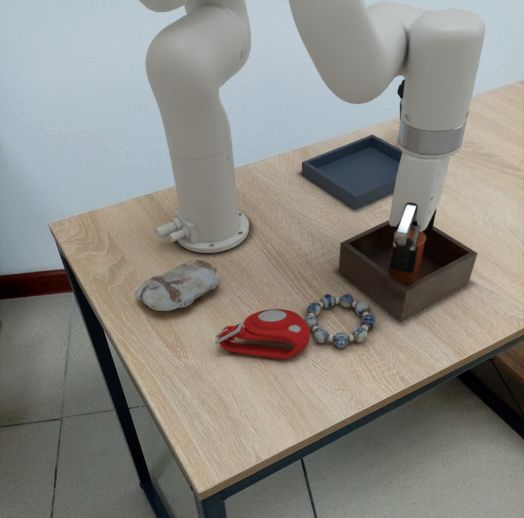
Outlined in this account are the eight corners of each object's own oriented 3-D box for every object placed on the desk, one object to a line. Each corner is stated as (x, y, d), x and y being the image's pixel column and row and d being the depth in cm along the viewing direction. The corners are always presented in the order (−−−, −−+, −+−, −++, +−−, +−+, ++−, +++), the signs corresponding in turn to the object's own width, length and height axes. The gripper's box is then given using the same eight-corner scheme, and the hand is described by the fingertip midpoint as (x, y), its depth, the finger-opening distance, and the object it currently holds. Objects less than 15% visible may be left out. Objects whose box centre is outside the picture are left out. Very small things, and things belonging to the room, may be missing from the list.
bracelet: (317, 357, 70) (318, 346, 69) (293, 309, 76) (293, 299, 75) (385, 339, 72) (387, 328, 70) (356, 293, 78) (357, 283, 76)
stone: (166, 329, 75) (161, 312, 73) (130, 299, 80) (124, 282, 77) (229, 288, 80) (227, 271, 78) (192, 262, 85) (189, 245, 82)
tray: (354, 209, 93) (355, 197, 91) (301, 174, 102) (301, 161, 100) (427, 177, 99) (429, 164, 97) (371, 146, 108) (372, 134, 106)
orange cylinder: (402, 288, 78) (409, 249, 72) (381, 273, 80) (387, 234, 75) (423, 276, 79) (432, 237, 74) (403, 261, 82) (410, 223, 76)
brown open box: (400, 321, 74) (406, 291, 70) (338, 271, 82) (340, 242, 78) (468, 283, 78) (477, 253, 74) (403, 239, 86) (408, 210, 82)
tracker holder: (270, 296, 77) (324, 314, 70) (272, 324, 79) (324, 344, 72) (206, 325, 69) (259, 348, 63) (209, 354, 72) (261, 379, 65)
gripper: (419, 100, 70) (403, 213, 82) (377, 161, 60) (366, 279, 72) (478, 107, 67) (452, 222, 80) (445, 172, 57) (421, 293, 69)
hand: (411, 249), depth 76 cm, fingers open, 9 cm apart
